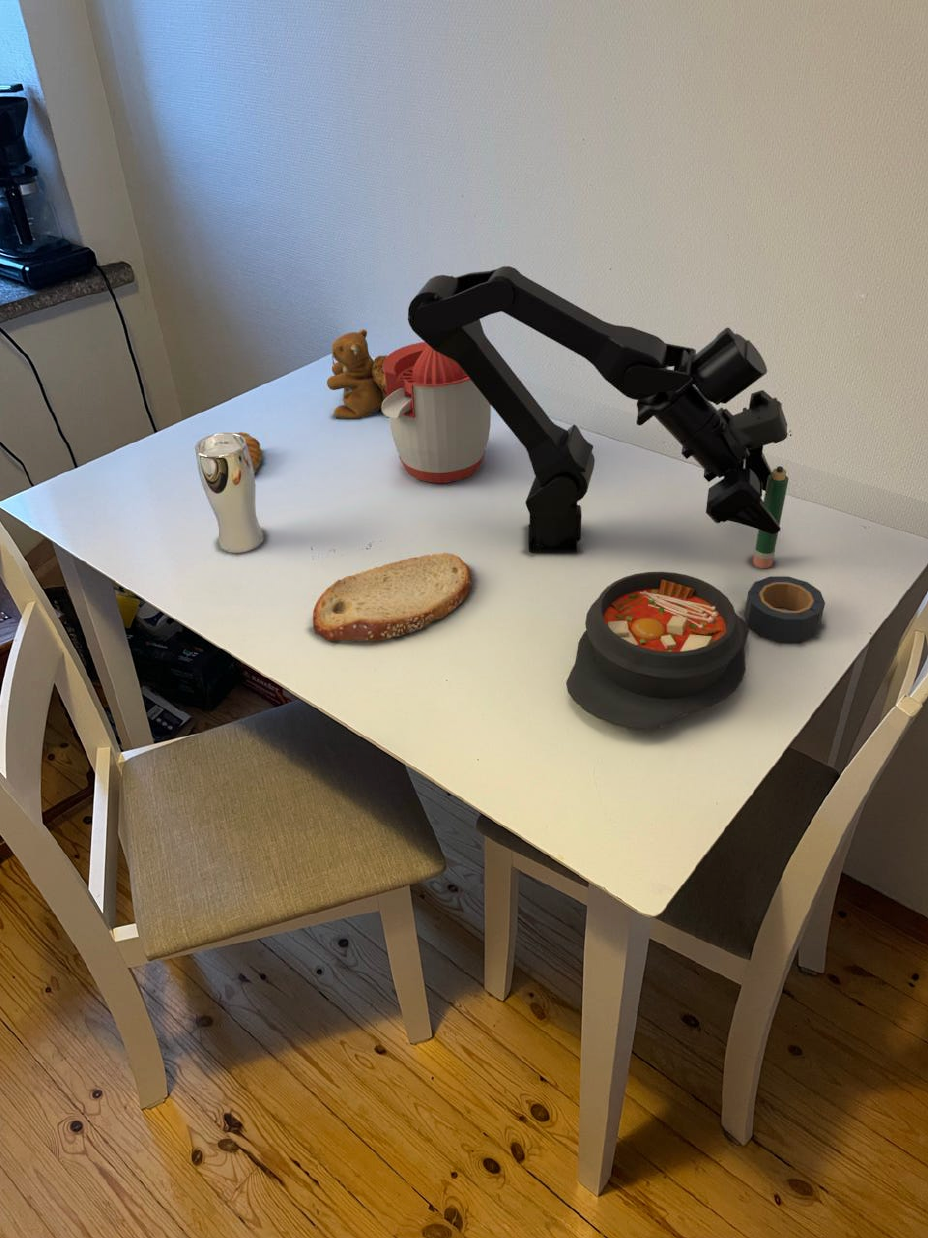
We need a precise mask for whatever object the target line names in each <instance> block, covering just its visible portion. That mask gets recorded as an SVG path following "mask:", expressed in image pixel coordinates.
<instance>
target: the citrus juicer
mask: <svg viewBox="0 0 928 1238" xmlns="http://www.w3.org/2000/svg"><path fill="white" fill-rule="evenodd" d="M383 370H384V373H385V382H386V392H387V398H386V399H385V400H384V401H383V403H382V411H381V413H382V414H383V415H384V417H386V418H388V419H389V425H390V432H391V435H392V439H393V442H394V446H395V449H396V450H397V452H398V456H399V460H400V462H401V463H402V465H403V468H405V470H406V472H407V473H408V474H409V475H410V476H412V477H413V478H415V479H417V480H420V481H423V482H428V483H436V484H441V485H442V484H447V483H451V482H457V481H460V480H464V479H466V478H469V477H470V476H472V475H474V474H475V473H476V472H477V471H478V470H479V469H480V467H481V465H482V463H483V460H484V458H485V455H486V451H487V450H486V449H487V446H488V442H489V438H490V431H491V421H492V410H491V409H492V406H491V405H490V403H489V402H488V401H487V400H486V398H485V397H484V396H483V395H482V393H481V392H480V391H479V390H478V388H477V387H476V386H475V385H474V383H473V382H472V381H471V380H470V378H469V377H468V376H467V375H466V373H465V372H464V371H463V370H462V368H461V367H460V366H459V365H458V364H457V363H456V362H455V361H454V360H452V359H450V358H448V357H446V356H444V355H442V354H440V353H438V352H436V351H434V350H433V349H432V348H431V347H430V346H429V345H428V344H427V343H426V342H424V341H422V342H417V343H412V344H409V345H406V346H403V347H400V348H397V349H395V350H394V351H392V352H391V353H389V354H388V355H387V357H386V358H385V360H384V362H383Z"/></svg>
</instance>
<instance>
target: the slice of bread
mask: <svg viewBox="0 0 928 1238" xmlns="http://www.w3.org/2000/svg"><path fill="white" fill-rule="evenodd" d="M472 584H473V575H472V572H471V570H470V568H469V565H468V564H467V563H466V562H465V561H464V560H462V558H461V557H459V556H457V555H455V554H452V553H448V552H447V553H446V552H443V553H434V554H426V555H420V556H419V557H416V556H415V557H410V558H408V559H402V560H398V561H395V562H390V563H388V564H383V565H381V566H375V567H374V568H371V569H367V570H363V571H361V572H358V573H355V574H353V575H347V576H345V577H342V579H338V580H336V581H334V582H333V584H331V585H330V586H329V587H327V588H326V589H325V591H323V593H321V595H320V596H319V598H318V600H317V601H316V603H315V606H314V608H313V613H312V626H313V627H312V628H313V630H314V632H315V633H316V634H317V635H319V636H321V637H322V638H324V639H325V640H328V641H329V642H335V643H336V642H339V641H358V642H381V641H386V640H389V639H391V638H392V639H393V638H396V637H401V636H404V635H407V634H412V633H413V632H416V631H419V630H423V629H424V628H425V627H426V626H428V625H429V624H430V623H432V622H434V621H437V620H441V619H443V618H444V617H446V616H447V615H449V614H451V613H452V612H453V611H454V610H455V609H456V608H457V607H458V606H460V604H462V602H464V601H465V599H466V598H467V596H468V595H469V593H470V590H471V588H472Z"/></svg>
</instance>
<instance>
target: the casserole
mask: <svg viewBox="0 0 928 1238" xmlns="http://www.w3.org/2000/svg"><path fill="white" fill-rule="evenodd" d="M584 623H585V624H584V625H585V631H584V632H583V633H582V635H581V637H580V639H579V641H578V644H577V649H576V656H575V663H574V665H573V666H572V669H571V671H570V673H569V675H568V678H567V679H566V683H565V684H566V690H567V693H568V695H569V696H570V697H571V698H572V700H573V701H574V702H575V704H577V705H578V706H579V707H581V708H582V709H583V710H584V711H585V712H587V713H589V714H591V715H592V716H594V717H595V718H596V719H599V720H602V721H604V722H606V723H609V724H611V725H614V726H618V727H622V728H625V729H629V730H635V731H636V730H637V731H650V730H651V731H652V730H659V729H661V728H662V727H665V726H667V725H669V724H671V723H673V722H675V721H677V720H678V719H681V718H682V717H683V716H686V715H690V714H693V713H696V712H700V711H702V710H705V709H709V708H711V707H714V706H716V705H718V704H720V703H721V702H724V701H725V700H727V699H728V698H729V697H730V696H732V694H734V693H735V692H736V691H737V690H738V688H739V687H740V685H741V683H742V682H743V680H744V677H745V673H746V653H745V648H746V645H747V641H748V638H749V633H750V628H749V627H748V625H747V622H746V621H744V619H743V618H742V617H741V616H740V615H739V614H737V613H736V611H735V608H734V605H733V603H732V602H731V601H730V600H729V598H728V596H726V595H725V594H724V593H723V592H722V591H721V590H720V589H718V588H717V587H715V586H714V585H712V584H711V583H709V582H706V581H704V580H703V579H700V578H698V577H694V576H691V575H688V574H683V573H677V572H670V571H646V572H639V573H634V574H630V575H626V576H624V577H621V578H619V579H616V580H615V581H614V582H612V583H610V584H609V585H607V586H606V588H605V589H603V590H602V592H601V593H600V594H599V596H598V597H597V599H596V600H595V601H594V602H593V603H592V604H591V605H590V607H589V609H588V611H587V613H586V617H585V622H584Z"/></svg>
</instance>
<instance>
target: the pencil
mask: <svg viewBox="0 0 928 1238" xmlns="http://www.w3.org/2000/svg"><path fill="white" fill-rule="evenodd" d="M771 471H772V474H770V475H769V476H768V480H767V486H766V491H764V498H763V502H764V503H765V505H766V506H767V508H768V509H769V511H770V512H771V514H772V515H773V517H774V518H775V520H776V521H777V523H778V525H779V526H780V525H781V520H782V515H783V509H784V505H785V499H786V494H787V489H788V484H789V476H788V475H787V470H786V469H784V467H783V466H780V465H779V466H777V467H776V468H773V470H771ZM780 527H781V526H780ZM778 536H779V532H778V533H776V534H770V533H767V532H764V531H761V530H758V529H757V537H756V542H755V546H754V550H753V551H754V552H753V553H754V554H753V559H752V564H753V565H754V566H755V567H757V568H761V569H768V568H770V567H772V565H773V562H774V561H773V560H774V557H775V553H776V547H777V541H778Z"/></svg>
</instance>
